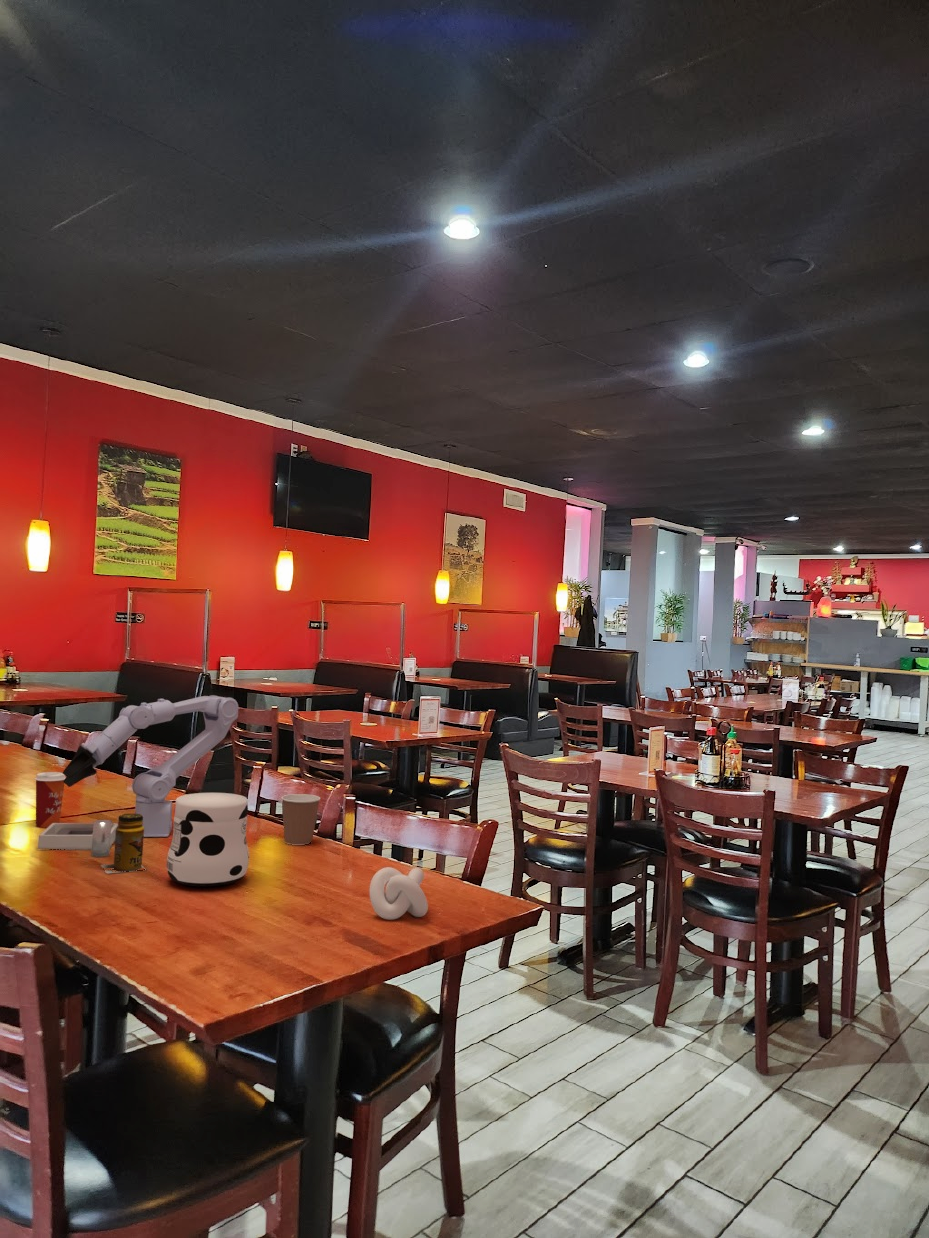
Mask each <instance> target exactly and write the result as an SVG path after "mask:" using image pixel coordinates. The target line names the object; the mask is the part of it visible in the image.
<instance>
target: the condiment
mask: <svg viewBox="0 0 929 1238" xmlns="http://www.w3.org/2000/svg"><path fill="white" fill-rule="evenodd" d="M117 823H118V827H117V828H116V835H115V842H114V853H113V854H114V855H113V863H112V864H106V863H105V864H100V867H101V869H103V868H104V869H105V868H114V869H112V870H116V872H115V871H113V872H112V870H111V869H110V870H109V869H108V870H105V871H104V872H105V873H106V874H107V875H108V874H109V875H110V874H118V873H119V874H120V872H118V871H122V872H121V873H127V872H126V871H129V872H128V873H132V872H138V871H137V870H138V869H140V868H144V869H145V870H144V871H146V870H147V869H146V867H144V866H143V865H142V864H143V855H144V854H143V852H144V838H145V837H144V827H143V826H142V824H143V816H142V815H141V814H135V813H123V814H120V815H119V816H118V821H117ZM134 870H136V871H134ZM123 871H124V872H123Z"/></svg>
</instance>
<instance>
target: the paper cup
mask: <svg viewBox="0 0 929 1238" xmlns="http://www.w3.org/2000/svg"><path fill="white" fill-rule="evenodd" d="M65 778H66V776H65V775H64V774H63V772H58V771H46V772H38V773H37V774H36V777H34V781H35V827H36V828H39V829H42V828H43V829H47V828H48V827H49V826H50V825H51V824H52V823H60V821H61V814H62V804H63V796H64V790H65V789H64V788H65V783H64V782H63V781H64V779H65Z"/></svg>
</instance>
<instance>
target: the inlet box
mask: <svg viewBox="0 0 929 1238" xmlns="http://www.w3.org/2000/svg"><path fill="white" fill-rule="evenodd" d="M117 827H118V822H113V823H111V838H110V848H111V847H112V846H113V845H114V844H115V835H116V828H117ZM92 837H93V822H59V823H52V824H51V825H50V826H49V827H48V828H45V829H44V830H43V831H42V832H41V833H40V834H38V838H37V839H38V840H37V850H38V849H45V850H44V851H47V850H46V849H52V850H51V851H54V850H53V849H56V850H55V851H92ZM112 844H113V845H112ZM57 849H59V850H57ZM60 849H61V850H60ZM64 849H65V850H64ZM75 849H76V850H75Z"/></svg>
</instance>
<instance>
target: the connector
mask: <svg viewBox="0 0 929 1238" xmlns="http://www.w3.org/2000/svg"><path fill="white" fill-rule="evenodd" d="M112 822H113V821H112V820H110V819H98V820H94V821H93V822H92V823H93V837H92V850H91V852H90V853H91V854H90V856H91V857H93V858H106V857H109V856H110V854H111V851H110V850H111V847H110V838H111V823H112Z"/></svg>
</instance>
